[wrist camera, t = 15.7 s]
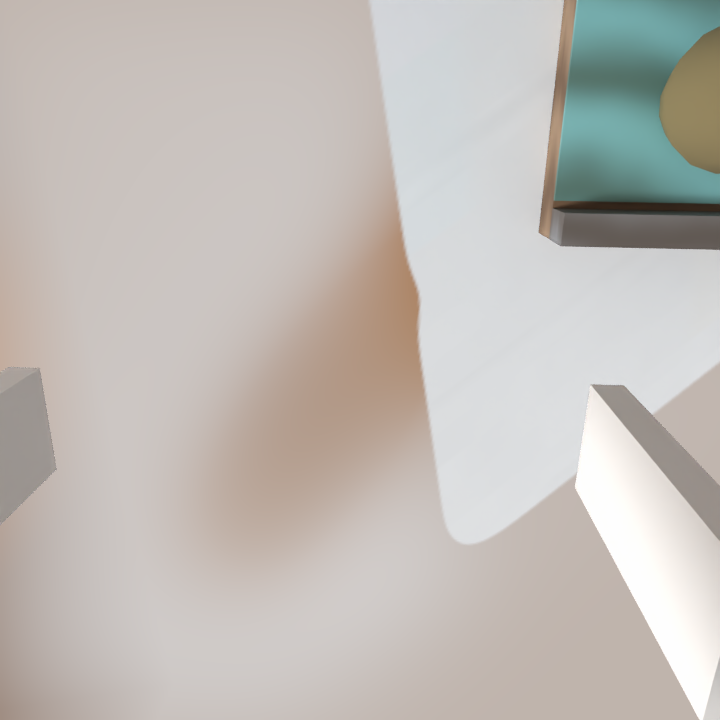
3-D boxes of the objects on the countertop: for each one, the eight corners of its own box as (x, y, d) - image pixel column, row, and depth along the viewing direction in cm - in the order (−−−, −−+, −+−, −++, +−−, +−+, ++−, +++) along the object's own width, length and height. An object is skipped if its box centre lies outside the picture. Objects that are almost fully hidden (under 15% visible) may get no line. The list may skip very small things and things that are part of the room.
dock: (569, -45, 39) (600, -77, 33) (851, -44, 38) (932, -76, 32) (538, 232, 44) (560, 246, 39) (783, 237, 44) (842, 252, 38)
